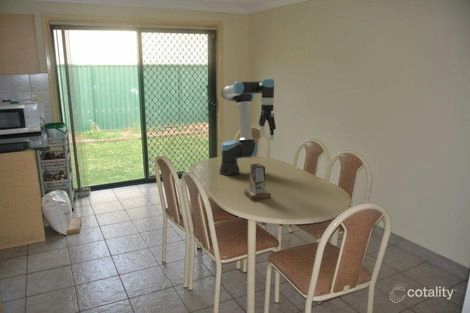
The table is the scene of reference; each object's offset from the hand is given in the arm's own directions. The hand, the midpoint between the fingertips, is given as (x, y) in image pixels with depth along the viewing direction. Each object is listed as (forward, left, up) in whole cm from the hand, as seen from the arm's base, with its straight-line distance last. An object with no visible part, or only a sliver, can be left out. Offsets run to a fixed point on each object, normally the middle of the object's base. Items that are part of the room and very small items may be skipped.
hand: (266, 138), depth 223 cm
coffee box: (+14, -12, -29) cm, 35 cm away
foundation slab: (+15, -12, -32) cm, 38 cm away
